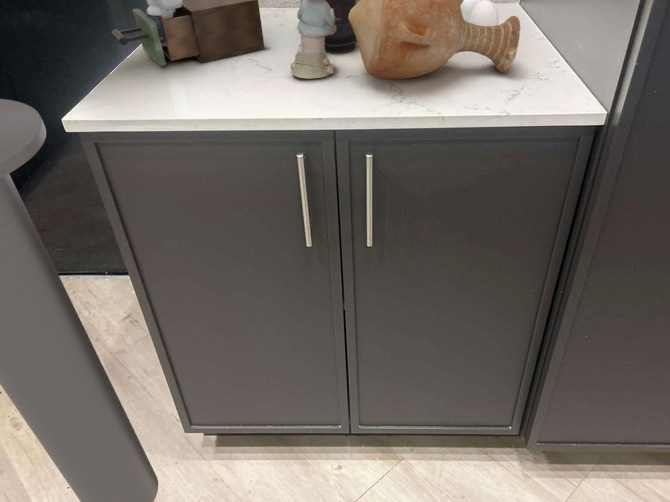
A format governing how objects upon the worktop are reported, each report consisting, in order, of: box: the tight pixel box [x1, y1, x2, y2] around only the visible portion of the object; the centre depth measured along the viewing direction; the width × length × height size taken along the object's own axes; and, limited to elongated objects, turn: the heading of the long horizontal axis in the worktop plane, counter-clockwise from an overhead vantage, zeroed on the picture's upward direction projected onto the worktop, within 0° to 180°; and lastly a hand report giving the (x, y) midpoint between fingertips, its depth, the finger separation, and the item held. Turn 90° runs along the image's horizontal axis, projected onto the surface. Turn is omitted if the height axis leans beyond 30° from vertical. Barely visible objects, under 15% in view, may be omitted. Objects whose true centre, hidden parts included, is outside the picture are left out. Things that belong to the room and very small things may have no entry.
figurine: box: [290, 0, 336, 80], centre depth 101 cm, size 9×8×20 cm
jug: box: [348, 0, 522, 80], centre depth 101 cm, size 20×19×30 cm
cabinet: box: [181, 0, 266, 64], centre depth 116 cm, size 14×13×10 cm
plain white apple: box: [460, 0, 483, 23], centre depth 127 cm, size 7×7×8 cm
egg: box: [469, 0, 500, 26], centre depth 118 cm, size 6×6×8 cm
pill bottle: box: [146, 0, 177, 46], centre depth 110 cm, size 5×5×9 cm
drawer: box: [111, 7, 199, 67], centre depth 112 cm, size 18×11×8 cm, turn 123°
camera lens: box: [324, 0, 356, 54], centre depth 113 cm, size 8×8×15 cm
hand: (163, 23), depth 111 cm, fingers closed on pill bottle, 5 cm apart
